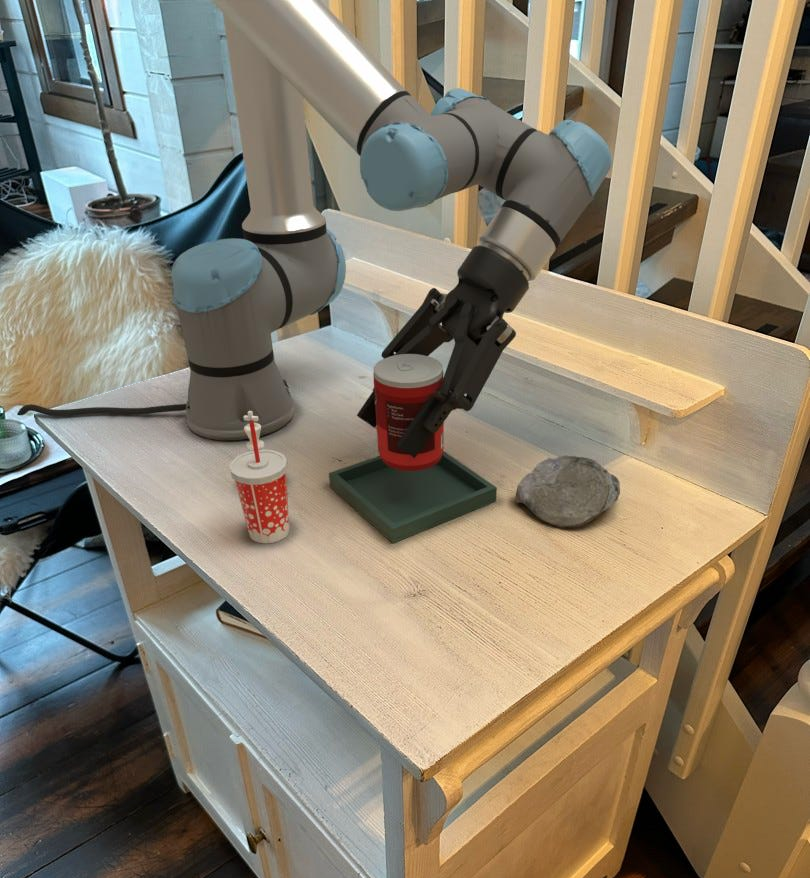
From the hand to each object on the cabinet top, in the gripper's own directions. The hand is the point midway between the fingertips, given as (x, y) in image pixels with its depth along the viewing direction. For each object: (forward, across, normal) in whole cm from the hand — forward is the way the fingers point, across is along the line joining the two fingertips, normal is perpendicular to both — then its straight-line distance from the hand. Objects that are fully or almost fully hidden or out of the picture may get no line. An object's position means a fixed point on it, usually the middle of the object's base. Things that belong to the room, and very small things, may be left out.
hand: (384, 436), depth 85 cm
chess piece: (+14, +13, +1) cm, 19 cm away
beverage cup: (+17, +3, +4) cm, 17 cm away
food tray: (+4, 0, -9) cm, 10 cm away
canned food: (0, 0, -5) cm, 5 cm away
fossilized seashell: (-6, -12, -19) cm, 23 cm away
